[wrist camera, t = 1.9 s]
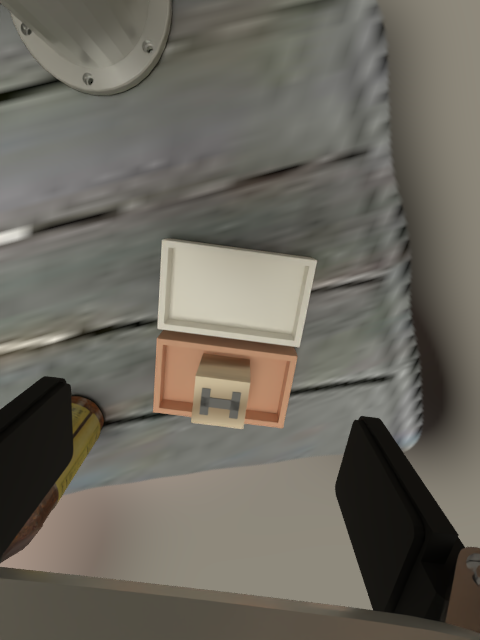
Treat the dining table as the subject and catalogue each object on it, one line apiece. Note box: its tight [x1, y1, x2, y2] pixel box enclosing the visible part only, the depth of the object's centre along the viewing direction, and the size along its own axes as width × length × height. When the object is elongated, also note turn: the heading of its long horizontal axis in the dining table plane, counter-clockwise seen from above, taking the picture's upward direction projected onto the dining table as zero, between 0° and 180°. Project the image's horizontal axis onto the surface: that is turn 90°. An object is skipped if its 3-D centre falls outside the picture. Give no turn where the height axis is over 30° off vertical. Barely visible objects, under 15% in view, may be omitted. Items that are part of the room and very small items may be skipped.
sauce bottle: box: [0, 396, 104, 563], centre depth 27 cm, size 6×6×20 cm
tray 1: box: [157, 238, 317, 347], centre depth 30 cm, size 8×14×2 cm, turn 83°
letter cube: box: [191, 353, 250, 429], centre depth 31 cm, size 5×5×5 cm
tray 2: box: [153, 330, 298, 428], centre depth 33 cm, size 8×14×2 cm, turn 83°
